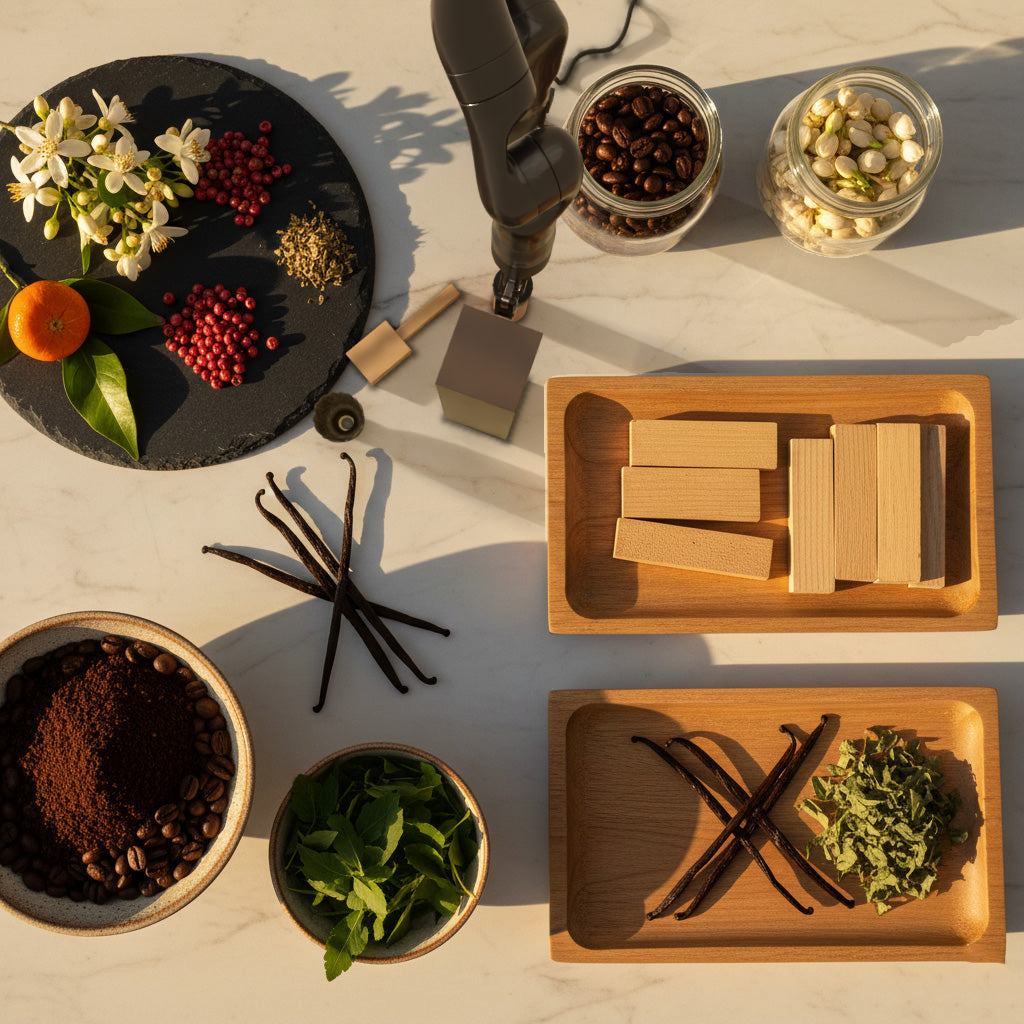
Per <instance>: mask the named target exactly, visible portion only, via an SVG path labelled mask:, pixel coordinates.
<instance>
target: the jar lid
mask: <svg viewBox="0 0 1024 1024" xmlns="http://www.w3.org/2000/svg"><path fill="white" fill-rule="evenodd" d="M501 273H502V272H501V270H500V269H499V270H498V271H497V272H496V273H495V275H494V278H493V281H492V283H491V284H492V285H491V286H492V292H493V298H494V297H496V296H497V294H498V293H501V291H500V289H499V288H498V285H499V281H500V277H501ZM522 282H523V280H522ZM522 282H521V284H520V285H522ZM533 291H534V281H533V278H532V277H530V278H529V279H528V280H527V284H526V287H525V290H524V293H523V295H522V296H519V298H518V305H517V307H520V306H522V305H524V304H525V303H526V302H527V301H528V302H529V301H530V299H531V297H532V295H533ZM511 297H514V298H515V295H514V294H512V296H511ZM517 307H516V308H517Z"/></svg>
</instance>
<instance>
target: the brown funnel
mask: <svg viewBox="0 0 1024 1024" xmlns="http://www.w3.org/2000/svg"><path fill="white" fill-rule="evenodd" d="M313 408H314V413H313V414H314V415H313V416H312V422H313V427H314V429H315V431H316V432H317V433H318V434H319V435H321V438H323V439H324V440H328V442H330V443H336V444H337V443H338V444H339V443H347V442H350V441H353V440H355V439H356V438H358V437H359V435H360V434H361V433H362V432H363V430H364V427H365V422H366V418H365V412H364V408H363V405H362V404H361V402H359V400H358V399H357V397H356V396H353V395H352V394H349V393H348V392H344V391H338V392H335V391H331V392H330V394H324V395H322V396H321V397H320V398H319V400H318V401H317V402H315V404H314V407H313ZM346 419H349V420H350V421H351V426H350V427H349V428H345V427H344V426H343V421H344V420H346Z"/></svg>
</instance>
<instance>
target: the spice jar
mask: <svg viewBox="0 0 1024 1024" xmlns="http://www.w3.org/2000/svg"><path fill="white" fill-rule="evenodd" d="M495 301H496V300H495V297H494V296H493V310H494V309H495ZM528 304H529V300H528V301H527V302H526V303H525V304H524V305H522V306H520V307H517V308H516V310H515V311H514V317H512V320H510V319H508V318H505V317H502V316H499V315H496V316H498V317H501V318H503V319H506V320H509V321H512V322H514V323H516V322H518V321H519V320H521V319H523V317H524V316H525V314H526V311H527V309H528V308H527V307H528Z"/></svg>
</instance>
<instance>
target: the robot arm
mask: <svg viewBox="0 0 1024 1024" xmlns="http://www.w3.org/2000/svg"><path fill="white" fill-rule="evenodd" d="M637 3H638V0H631V1H630V3H629V5H628V9H627V14H626V17H625V22H624V25H623V28H622V31H621V33H620V35H619V37H618V39H616V41H615V42H614V43H612V44H611V45H610V46H606V47H601V48H599V47H598V48H589V49H585V50H582V51H580V52H579V53H577V54H576V55H575V56H574V57H573V58H572V60H571V61H570V63H569V64H568V67H567V69H566V71H565V73H564V76H563V78H562V79H560V78H559V77H558V74H559V72H560V69H561V66H562V63H563V58H564V55H565V52H566V49H567V44H568V41H569V35H570V30H569V29H570V28H569V22H568V20H567V17H566V15H565V14H564V12H563V10H562V9H561V8H560V6H559V4H558V3H557V0H430V5H429V7H430V8H429V10H430V11H429V13H430V16H429V17H430V28H431V33H432V34H431V35H432V39H433V43H434V46H435V50H436V53H437V57H438V59H439V61H440V63H441V66H442V68H443V71H444V73H445V75H446V77H447V80H448V82H449V84H450V86H451V89H452V91H453V93H454V96H455V98H456V100H457V102H458V105H459V107H460V109H461V112H462V115H463V118H464V121H465V125H466V128H467V133H468V139H469V142H470V148H471V154H472V160H473V168H474V175H475V181H476V187H477V192H478V195H479V198H480V201H481V204H482V206H483V208H484V210H485V212H486V213H487V215H488V216H489V217H490V218H491V219H492V221H491V231H490V232H491V233H490V234H491V236H490V238H491V239H490V247H491V248H490V249H491V250H490V251H491V252H490V253H491V256H492V259H493V262H494V263H495V265H496V266H497V268H498V269H499V270H501V272H502V273H501V277H500V281H499V285H498V288H499V289H500V291H501V293H498V294H497V296H496V297H495V300H496V301H495V309H494V308H493V312H494V313H493V315H495V316H497V315H499V316H502V317H505V318H508V319H510V320H512V317H514V311H515V310H516V307H517V305H518V298H519V296H522V295H523V293H524V290H525V287H526V284H527V280H528V279H529V278H530V277H531V278H532V277H534V276H536V275H538V274H540V272H542V271H543V270H544V269H545V268H546V266H547V265H548V264H549V262H550V259H551V256H552V252H553V247H554V243H555V239H556V235H557V222H558V221H557V220H558V219H559V218H560V217H561V216H563V214H564V213H565V212H566V210H567V209H568V208H569V207H570V205H571V204H572V203H573V201H574V200H575V199H576V197H577V196H578V195H579V193H580V190H581V187H582V185H583V181H584V174H585V164H584V158H583V154H582V150H581V148H580V145H579V144H578V142H577V139H575V137H574V136H573V135H572V134H571V133H570V132H569V131H568V130H566V129H565V128H563V127H561V126H558V125H555V124H546V119H547V114H549V113H550V110H551V107H552V105H553V102H554V98H555V92H556V88H555V87H552V85H553V83H554V82H555V84H556V85H557V86H563V85H564V84H565V83H566V82H567V81H568V79H569V77H570V76H571V74H572V71H573V69H574V67H575V65H576V63H577V62H578V61H579V60H580V59H581V58H582V57H585V56H587V55H598V54H606V53H610V52H612V51H614V50H615V49H617V47H618V46H620V45H621V43H622V42H623V41H624V39H625V37H626V35H627V33H628V30H629V27H630V23H631V19H632V15H633V11H634V8H635V5H636V4H637ZM522 280H523V282H522ZM521 282H522V285H520V284H521ZM512 294H514V295H515V298H514V297H511V296H512Z"/></svg>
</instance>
